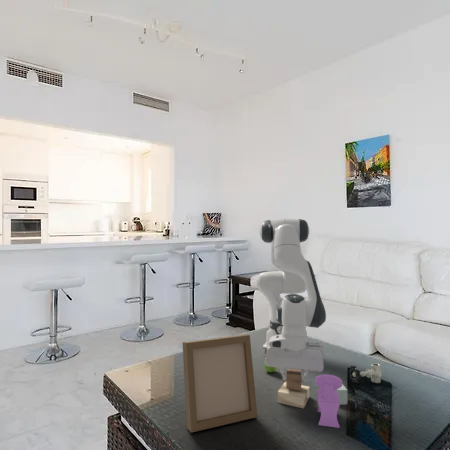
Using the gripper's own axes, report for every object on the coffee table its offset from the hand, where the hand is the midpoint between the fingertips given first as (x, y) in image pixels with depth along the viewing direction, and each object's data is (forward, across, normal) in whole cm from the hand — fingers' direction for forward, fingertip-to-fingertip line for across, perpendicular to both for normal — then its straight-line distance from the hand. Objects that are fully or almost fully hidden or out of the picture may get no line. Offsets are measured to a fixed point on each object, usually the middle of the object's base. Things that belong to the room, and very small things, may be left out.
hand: (293, 380), depth 121 cm
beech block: (+7, 0, 0) cm, 7 cm away
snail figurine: (+7, +10, -22) cm, 25 cm away
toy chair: (+7, -11, +10) cm, 16 cm away
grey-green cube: (+7, -15, -3) cm, 17 cm away
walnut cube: (+2, 0, 0) cm, 2 cm away
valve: (+7, -28, -22) cm, 36 cm away
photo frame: (+7, +24, +17) cm, 30 cm away
